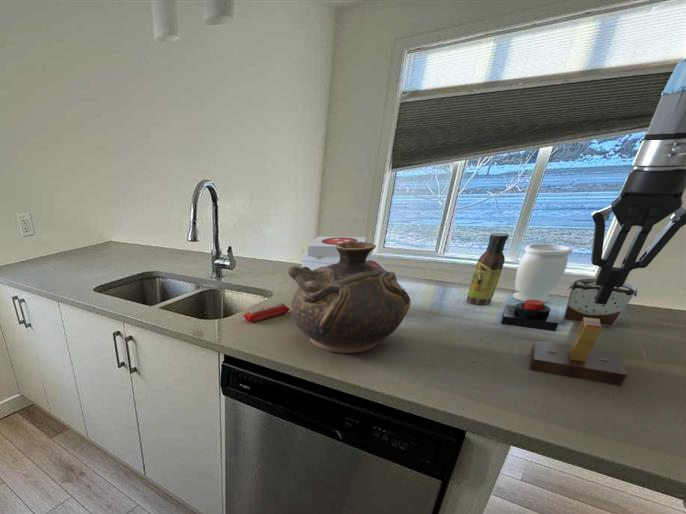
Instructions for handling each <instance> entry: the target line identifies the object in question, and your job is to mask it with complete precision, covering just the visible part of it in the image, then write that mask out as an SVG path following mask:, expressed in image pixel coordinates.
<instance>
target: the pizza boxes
mask: <svg viewBox="0 0 686 514" xmlns="http://www.w3.org/2000/svg"><path fill="white" fill-rule="evenodd" d="M366 238H367V237H366V236H319V235H318V236H317V237H316V238H315V239H314V240H313V241H312V242H311V243H310V244H308V247H307V252H305V253H302V258H301V268H302V267H308V268H310V269H311V270H312V271H313V270H315V269H317V268H320V267H326V266H329V265H332V264H336V263H338V262H339V260H340V254H339V252H338V250H337V249H336V247H335V246H336V245H337V244H339V243H344V242H366V240H367V239H366ZM366 264H368V265H371V266H373V267H378V268H380V269H383V270H385V271H387V272H390V271H389V270H388V268H386V267H385V265H384V264H383V263H382V262H381V261H380V260H379V259H378V257H377V256H376V255H375V254H373V255H371V256H370V253H369V254H368V256H367V258H366ZM397 283H398V284H399V286H400V287H401V288H402V289H404V290H405V291H406V289H405V288H404V287H403V285H402V284H401V283H400V282H399V281H398V280H397Z"/></svg>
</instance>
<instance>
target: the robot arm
mask: <svg viewBox="0 0 686 514" xmlns="http://www.w3.org/2000/svg"><path fill="white" fill-rule="evenodd" d="M631 165H632V166H633V167H634V169H632V170H631V171H629V172H628V174H627V176H626V179H625V181H624V182H623V185H622V188H621V190H620V193H619V194H618V196H617V198H616V199H614V200H613V201H612V202H611V204H610V205H609V206H607V207H604V208H602V209H600V210H593V211H592V213H591V214H590V215H591V218H592V221H593V223H594V229H593V237H592V247H591V248H592V249H591V258H590V261H591V264H592V265H593V266H597V267H599V268H600V269H599V271H598V273H597V275H596V278H595V279H596V280H595V283H596V285H599V286H600V288H599V290H598V293H597V295H596V297H595V299H594V300H595V303H596V304H607V302H608V300H609V297H610V295H611V293H612V291H613V289H614V287H621V286H623V285H624V282H625V283H626V280H627V279H628V276H629V274H630V272H631V271H633V270H636V269H645V268H647V267H648V266H649V265H650V264H651V263H652V261H654V259H655V258H656V257H657V256H658V255H659V253H660V252H661V251H662V250H663V249H664V248H665V247H666V245H667V244H668V243H669V242H670V241H671V239H673V237H674V236H675V235H676V234H677V232H678V231H679V230H680V229H681V228H683V227H684V226H685V225H686V208H684V207H683V199H682V198H683V195H684V193H685V191H686V57H685V58H684V59H682V60H680V61H679V63H678V64H676V66H675V68H674V69H673V72H672V73H671V74H670V77H669V78H668V81H667V83H666V85H665V86H664V89H663V91H662V92H661V96H660V99H659V101H658V103H657V107H656V109H655V111H654V114H653V116H652V119H651V121H650V123H649V126H648V128H647V131H646V133H645V135H644V138H643V140H642V142H641V144H640V147H639V148H638V150H637V153H636V156H635V158H634V160H633V162H632V164H631ZM612 213H613V215H614V217H615V219H616V221H617V223H618V224H619V225H618V227H617V230H616V232H615V234H614V237H613V239H612V241H611V243H610V246H609V248H608V250H607V252H606V253H605V254H606V255H605V257H604V258H603V252H604V251H603V250H604V242H605V234H606V233H605V232H606V221H608V220H609V219H610V215H611V214H612ZM671 215H672V216H671ZM669 216H670V221H669V222H668V223H667V224H666V225H665V227H664V228H663V229H662V230H661V231H660V232H659V234H658V235H657V236H656V237H655V239H654V240H653V241H652V242H651V243H650V245H648V247H647V248H646V249H645V251H644V252H642V254H641V255H640V253H641V250H642V248H643V247H644V244H645V243H646V240H647V238H648V236H649V234H650V233H651V232H652V230H653V227H654V226H655V225H657V224H658V223H659V222H661V221H663V220H665V219H666V218H668V217H669ZM636 226H637V229H636V232H635V234H634V236H633V238H632V240H631V242H630V245H629V247H628V249H627V250H626V253H625V255H624V257H623V260H622V262H621V263H620V267H615V266H614V265H615V263H616V261H617V259H618V257H619V254H620V252H621V250H622V248H623V245H624V243H625V241H626V239H627V237H628V234H629V233H630V231H631V230H632V227H636ZM639 255H640V256H639Z"/></svg>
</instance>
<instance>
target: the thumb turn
mask: <svg viewBox="0 0 686 514" xmlns="http://www.w3.org/2000/svg"><path fill="white" fill-rule="evenodd" d="M602 328H603V327H602V325H601V324H600V320H599V319H594V318H585V317H584V318H583V320H582V322H580V325H579V327H578V328H577V331H576V333H575V335H574V338H573V340H572V342H571V344H570V346H571V347H570V349H569V353H570V360H576V361H582V362H586V360H587V358H588V356H589V354H590V352H591V350H592V349H593V347H594V345H595V343H596V341H597V340H598V337H599V335H600V333H601V331H602Z"/></svg>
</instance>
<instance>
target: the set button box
mask: <svg viewBox="0 0 686 514" xmlns="http://www.w3.org/2000/svg"><path fill="white" fill-rule="evenodd" d="M524 303H525V302H519V303H517V304H516V305H512V304H511V305H510V304H505V307H504V310H503V313H502V318H501V321H500V325H504V326H513V327H520V328H528V329H536V330H541V331H542V330H544V331H550V332H556V331H557V328H558V326H559V310H556V309H551V307H550V306H548V305H546V304H545V305H544V307H543V310H531V309H526V308H524V307H523V306H524Z"/></svg>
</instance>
